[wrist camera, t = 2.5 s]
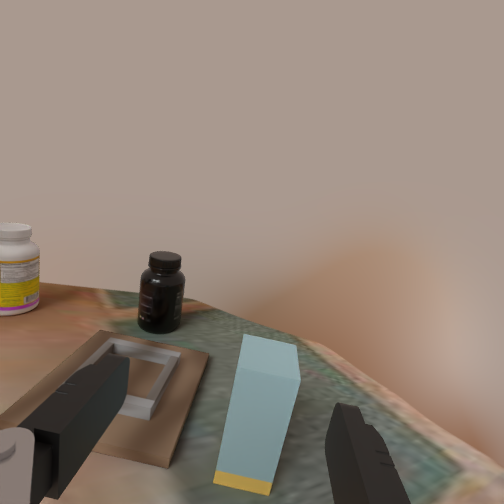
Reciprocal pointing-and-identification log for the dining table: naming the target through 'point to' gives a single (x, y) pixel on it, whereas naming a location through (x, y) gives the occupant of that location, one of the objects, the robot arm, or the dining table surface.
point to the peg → (258, 414)
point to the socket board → (131, 395)
